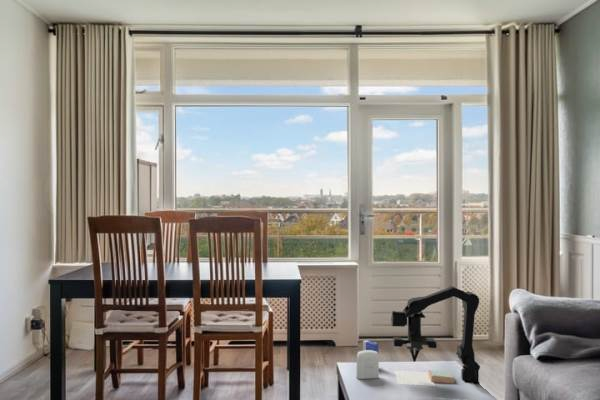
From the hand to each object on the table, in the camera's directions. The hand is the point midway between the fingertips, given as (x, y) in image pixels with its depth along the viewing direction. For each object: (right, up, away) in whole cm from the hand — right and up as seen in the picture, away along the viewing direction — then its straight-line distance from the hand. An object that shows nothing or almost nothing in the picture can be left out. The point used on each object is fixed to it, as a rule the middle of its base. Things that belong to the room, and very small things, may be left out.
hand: (414, 361), depth 201 cm
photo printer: (-21, -8, +1) cm, 23 cm away
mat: (0, -8, 0) cm, 8 cm away
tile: (+7, -6, -1) cm, 9 cm away
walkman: (-17, -8, +16) cm, 25 cm away
